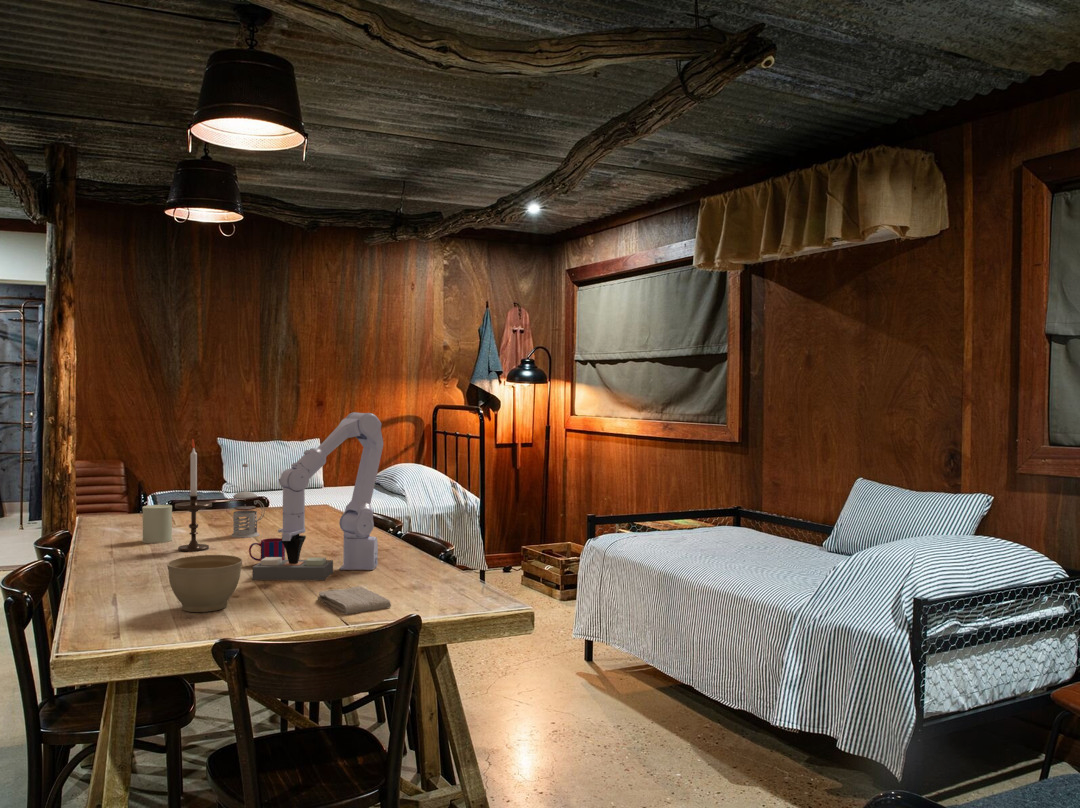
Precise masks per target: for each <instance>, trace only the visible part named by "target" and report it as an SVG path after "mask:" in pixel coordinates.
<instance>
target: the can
mask: <svg viewBox="0 0 1080 808" xmlns="http://www.w3.org/2000/svg"><path fill="white" fill-rule="evenodd" d="M141 510H142V540H141V542H142V543H143V544H159V543H160V544H162V543H168V542H172V541H173V537H172V535H173V533H172V532H173V529H172V528H173V525H172V523H173V505H172V504H163V503H162V504H150V505H144V506H142V509H141Z"/></svg>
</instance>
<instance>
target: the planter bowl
mask: <svg viewBox="0 0 1080 808" xmlns="http://www.w3.org/2000/svg"><path fill="white" fill-rule="evenodd" d="M242 564H243V559H242V558H241V557H240V556H239V557H238V556H235V555H227V554H201V555H194V556H193V555H190V556H184V557H179V558H178V557H177V558H174V559H172V560H169V561H168V562H167V564H166V565H167V571H168V580H169V584H170V588H171V590H172V592H173V594H174V596H175V598H177V600H178V601H179V602H180V604H181V607H182V610H183V611H186V612H189V613H207V612H208V613H209V612H214V611H219V610H222V609H225V608H226V607H227V605H228V601H229V600H230V598H231V597H232V595H234V593H235V591H236V589H237V587H238V584H239V582H240V578H241V570H242Z"/></svg>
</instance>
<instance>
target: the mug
mask: <svg viewBox="0 0 1080 808" xmlns="http://www.w3.org/2000/svg"><path fill="white" fill-rule="evenodd" d="M281 538H282V537H281ZM281 538H278V537H275V538H274V537H273V538H272V537H271V538H263V539H260V543H259V542H254V543H251V544H250V545H249V549H248V553H249V554H248V555H249V556H250V557H251V559H253V560H255V561H258V562H261V560H262V559H264V558H265V557H282V560H286V549H285V547H284V545H283V543H282V541H281ZM255 545H257V546H259V547H260V558H256V557H254V556H253V555H252V548H253V546H255Z"/></svg>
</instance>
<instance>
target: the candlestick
mask: <svg viewBox="0 0 1080 808" xmlns="http://www.w3.org/2000/svg"><path fill="white" fill-rule="evenodd" d="M191 447H192V451H191V452H190V487H189V488H190V490H189V491H190V493H189V494H188V495H186V496H187V497H189V501H184V502H177V503H175V504H174V509H177V510H187V511H188V512H190V513H191V515H190V516H191V517H190V520H191V521H190V522H191V523H190V524H188V528H189V529H190V532H189V533H188V534H189V535H191V536H190V537H191V539H190V541H189V543H188V544H183V545H179V546H178V547H177V548H178V549H177V551H178V552H181V553H182V552H183V553H194V552H195V553H196V552H197V553H198V552H204V551H209V548H210V546H209V544H205V543H199V542H198V541H197V535H198V531H197V528H199V524H198V523H197V512H198V511H200V510H201V509H207V508H212V506H213V503H212V502H211V501H210V502H209V501H198V497H199V496H201V495H200V494H198V466H197V465H198V453H197V452H196V449H195V447H196V445H195V440H194V439H193V438H192V439H191Z"/></svg>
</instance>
